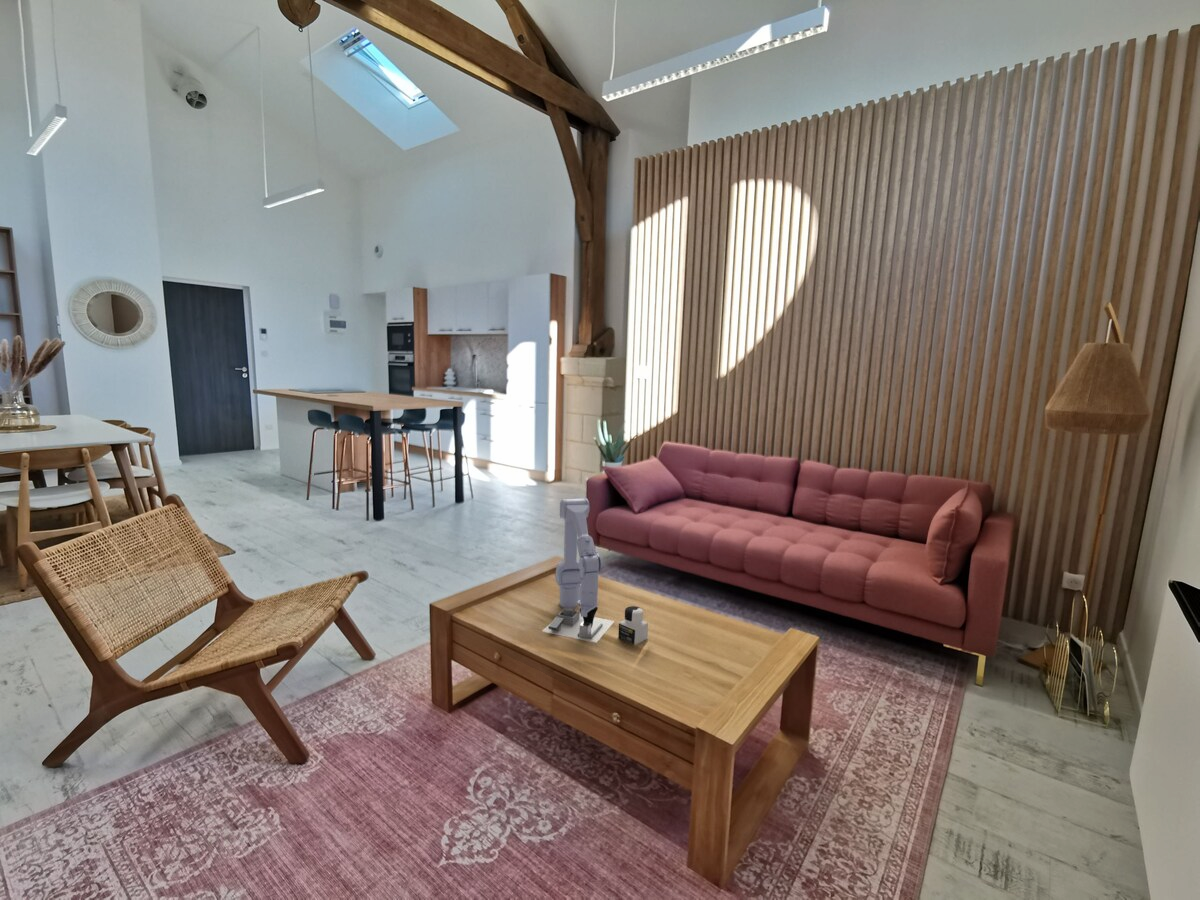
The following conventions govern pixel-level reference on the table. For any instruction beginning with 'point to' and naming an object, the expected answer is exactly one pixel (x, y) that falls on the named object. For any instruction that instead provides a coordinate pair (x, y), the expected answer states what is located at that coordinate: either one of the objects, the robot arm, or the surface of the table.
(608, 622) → the panel
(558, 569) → the robot arm
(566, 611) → the push button
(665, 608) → the table surface
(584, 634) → the slider knob
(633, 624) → the medicine bottle
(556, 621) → the rocker
